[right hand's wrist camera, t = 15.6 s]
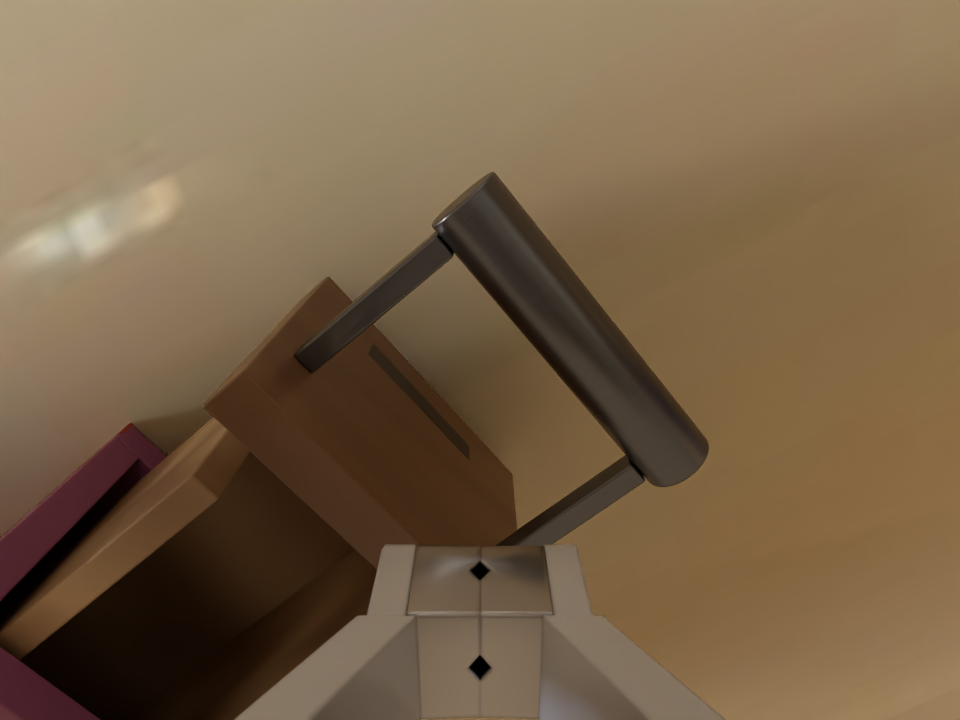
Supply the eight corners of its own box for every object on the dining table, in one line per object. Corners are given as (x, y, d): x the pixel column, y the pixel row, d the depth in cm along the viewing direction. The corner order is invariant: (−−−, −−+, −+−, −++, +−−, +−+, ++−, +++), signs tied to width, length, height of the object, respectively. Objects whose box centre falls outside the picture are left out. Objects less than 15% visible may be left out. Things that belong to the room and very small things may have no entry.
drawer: (480, 142, 19) (481, 164, 12) (659, 368, 21) (754, 505, 14) (-40, 596, 24) (-264, 806, 17) (149, 735, 27) (24, 971, 19)
